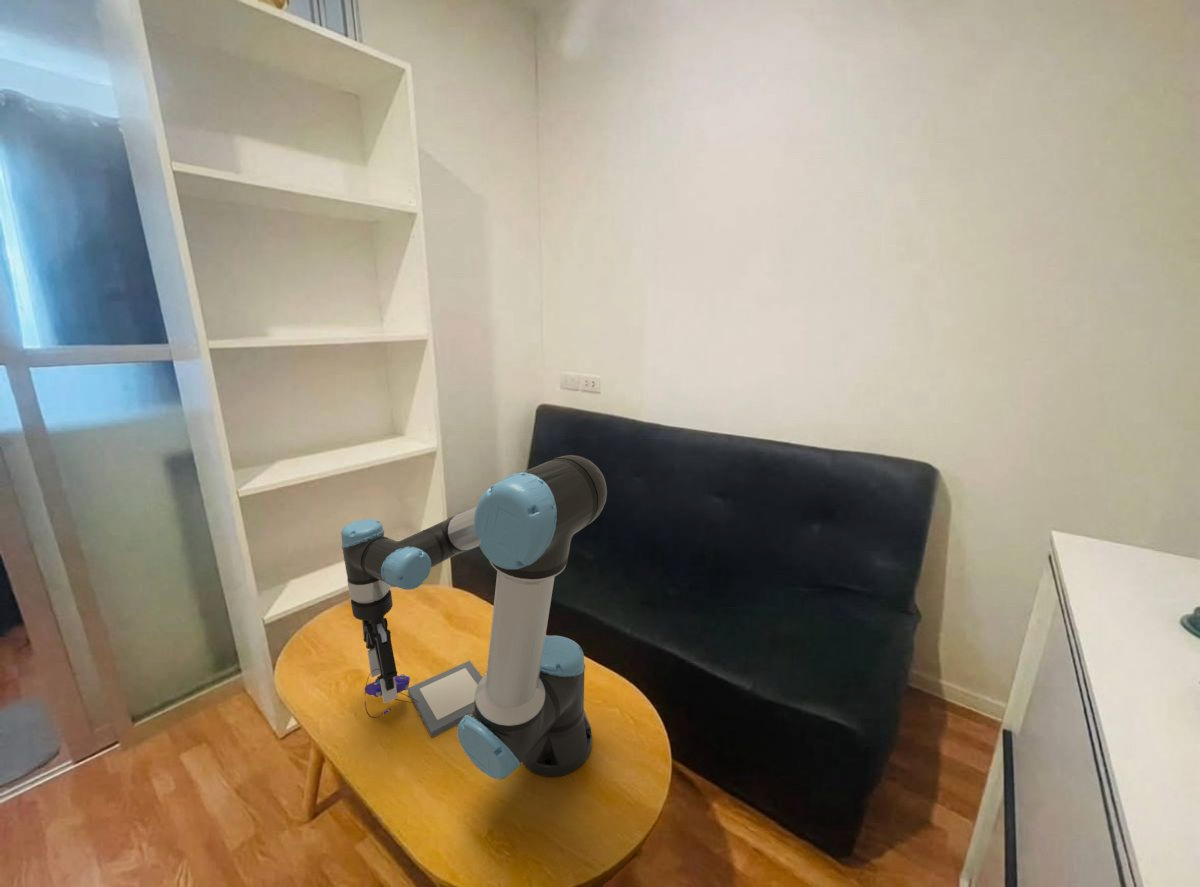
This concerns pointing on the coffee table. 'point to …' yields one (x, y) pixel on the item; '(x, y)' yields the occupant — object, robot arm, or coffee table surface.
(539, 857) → the coffee table surface
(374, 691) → the game controller
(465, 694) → the grey picture frame
